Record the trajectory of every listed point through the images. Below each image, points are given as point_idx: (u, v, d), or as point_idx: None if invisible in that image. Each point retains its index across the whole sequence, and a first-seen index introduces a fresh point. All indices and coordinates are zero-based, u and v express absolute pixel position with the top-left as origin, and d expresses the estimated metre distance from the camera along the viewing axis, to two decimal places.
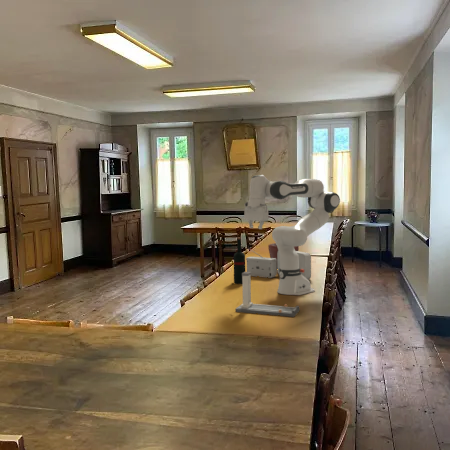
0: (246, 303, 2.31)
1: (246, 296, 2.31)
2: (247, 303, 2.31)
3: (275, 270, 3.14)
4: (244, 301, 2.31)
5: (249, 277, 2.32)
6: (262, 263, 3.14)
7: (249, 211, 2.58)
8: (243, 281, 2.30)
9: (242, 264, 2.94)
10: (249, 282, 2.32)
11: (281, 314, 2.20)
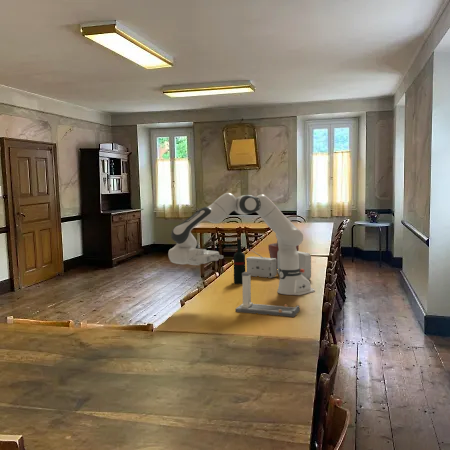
0: (246, 303, 2.31)
1: (246, 296, 2.31)
2: (247, 303, 2.31)
3: (275, 270, 3.14)
4: (244, 301, 2.31)
5: (249, 277, 2.32)
6: (262, 263, 3.14)
7: None
8: (243, 281, 2.30)
9: (242, 264, 2.94)
10: (249, 282, 2.32)
11: (281, 314, 2.20)
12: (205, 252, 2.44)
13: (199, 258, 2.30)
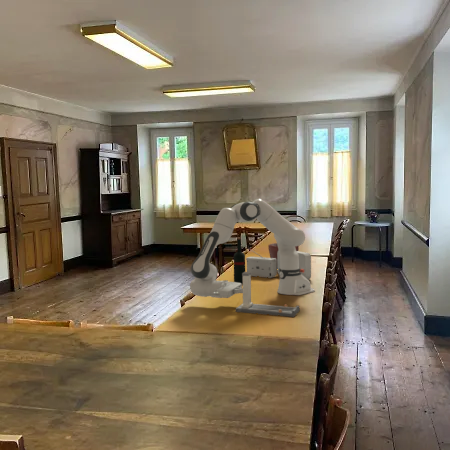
0: (246, 303, 2.31)
1: (246, 296, 2.31)
2: (247, 303, 2.31)
3: (275, 270, 3.14)
4: (244, 301, 2.31)
5: (249, 277, 2.32)
6: (262, 263, 3.14)
7: None
8: (243, 281, 2.30)
9: (242, 264, 2.94)
10: (249, 282, 2.32)
11: (281, 314, 2.20)
12: (228, 284, 2.41)
13: (223, 292, 2.27)
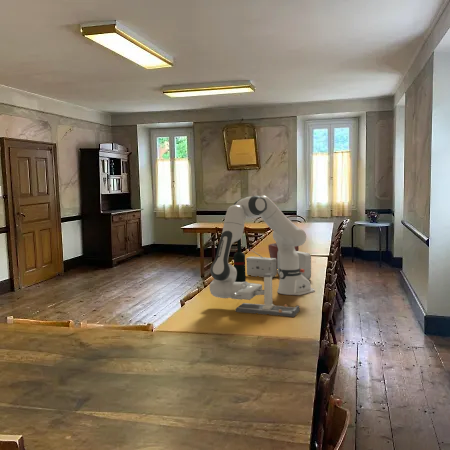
0: (268, 305, 2.27)
1: (268, 298, 2.26)
2: (269, 305, 2.26)
3: (275, 270, 3.14)
4: (266, 303, 2.27)
5: (271, 278, 2.27)
6: (262, 263, 3.14)
7: None
8: (265, 282, 2.26)
9: (242, 264, 2.94)
10: (271, 283, 2.27)
11: (281, 314, 2.20)
12: (248, 285, 2.36)
13: (244, 294, 2.22)
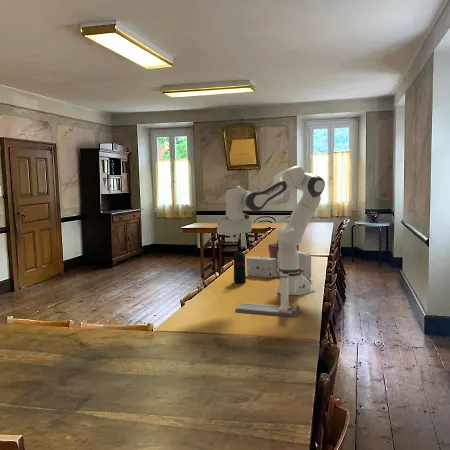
0: (284, 306, 2.23)
1: (284, 299, 2.23)
2: (285, 306, 2.23)
3: (275, 270, 3.14)
4: (282, 304, 2.24)
5: (287, 279, 2.24)
6: (262, 263, 3.14)
7: None
8: (281, 283, 2.23)
9: (242, 264, 2.94)
10: (287, 284, 2.24)
11: (281, 314, 2.20)
12: (242, 222, 2.46)
13: (219, 229, 2.40)
